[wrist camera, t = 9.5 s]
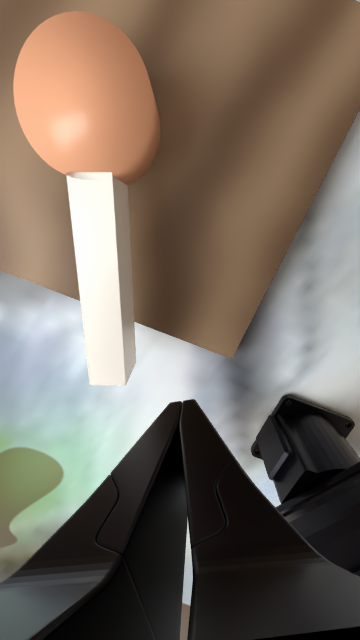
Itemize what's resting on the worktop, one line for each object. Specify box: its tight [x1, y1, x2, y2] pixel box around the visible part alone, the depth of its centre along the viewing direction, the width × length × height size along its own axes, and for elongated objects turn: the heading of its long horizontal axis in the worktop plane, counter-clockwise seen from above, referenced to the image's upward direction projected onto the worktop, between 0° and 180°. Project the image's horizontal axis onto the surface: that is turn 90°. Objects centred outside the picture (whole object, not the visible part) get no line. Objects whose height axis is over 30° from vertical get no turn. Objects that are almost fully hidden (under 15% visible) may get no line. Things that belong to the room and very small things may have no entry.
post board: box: [0, 0, 360, 359], centre depth 16 cm, size 24×20×3 cm
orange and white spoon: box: [13, 11, 160, 386], centre depth 14 cm, size 16×6×3 cm, turn 0°
